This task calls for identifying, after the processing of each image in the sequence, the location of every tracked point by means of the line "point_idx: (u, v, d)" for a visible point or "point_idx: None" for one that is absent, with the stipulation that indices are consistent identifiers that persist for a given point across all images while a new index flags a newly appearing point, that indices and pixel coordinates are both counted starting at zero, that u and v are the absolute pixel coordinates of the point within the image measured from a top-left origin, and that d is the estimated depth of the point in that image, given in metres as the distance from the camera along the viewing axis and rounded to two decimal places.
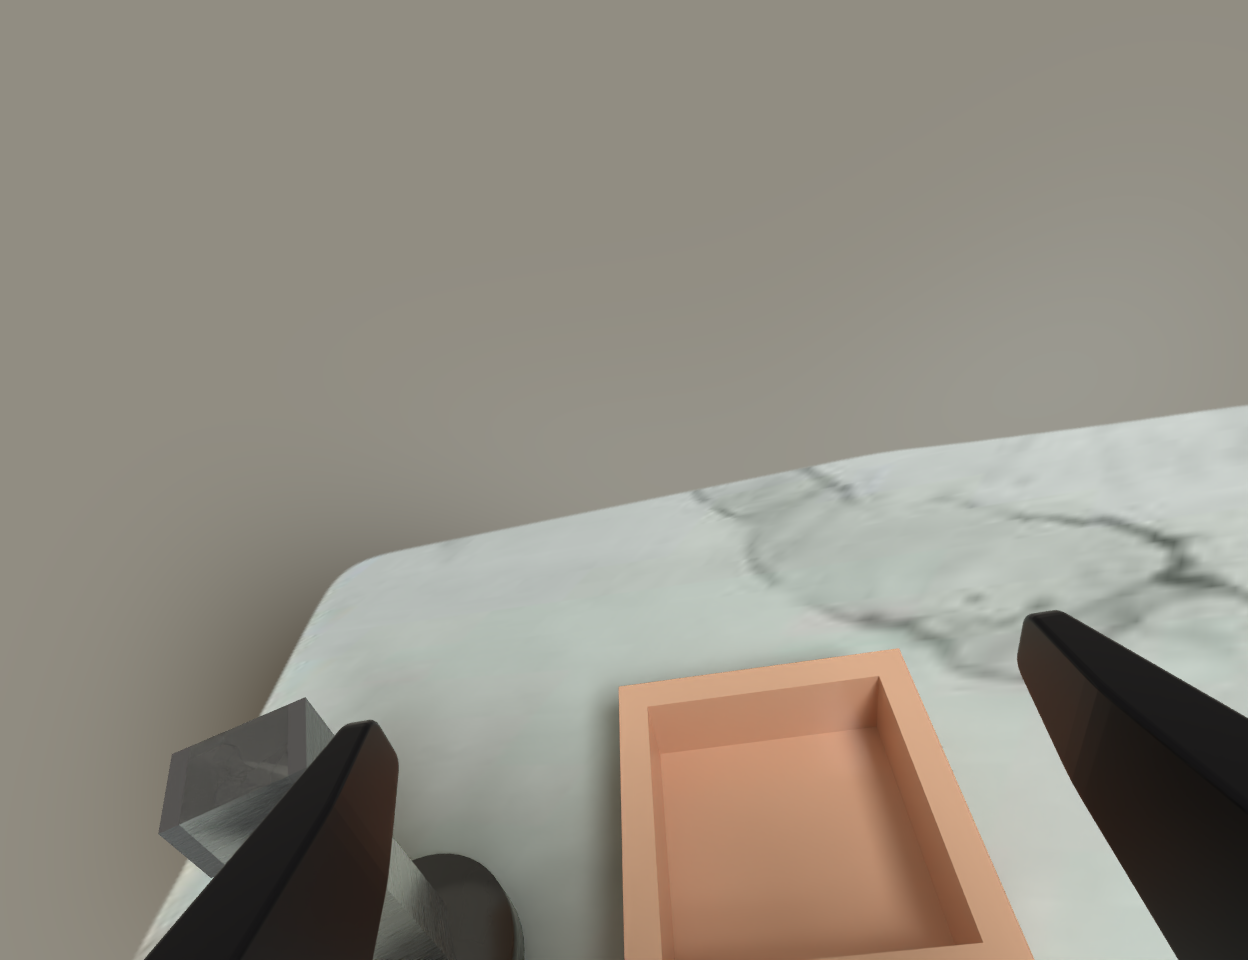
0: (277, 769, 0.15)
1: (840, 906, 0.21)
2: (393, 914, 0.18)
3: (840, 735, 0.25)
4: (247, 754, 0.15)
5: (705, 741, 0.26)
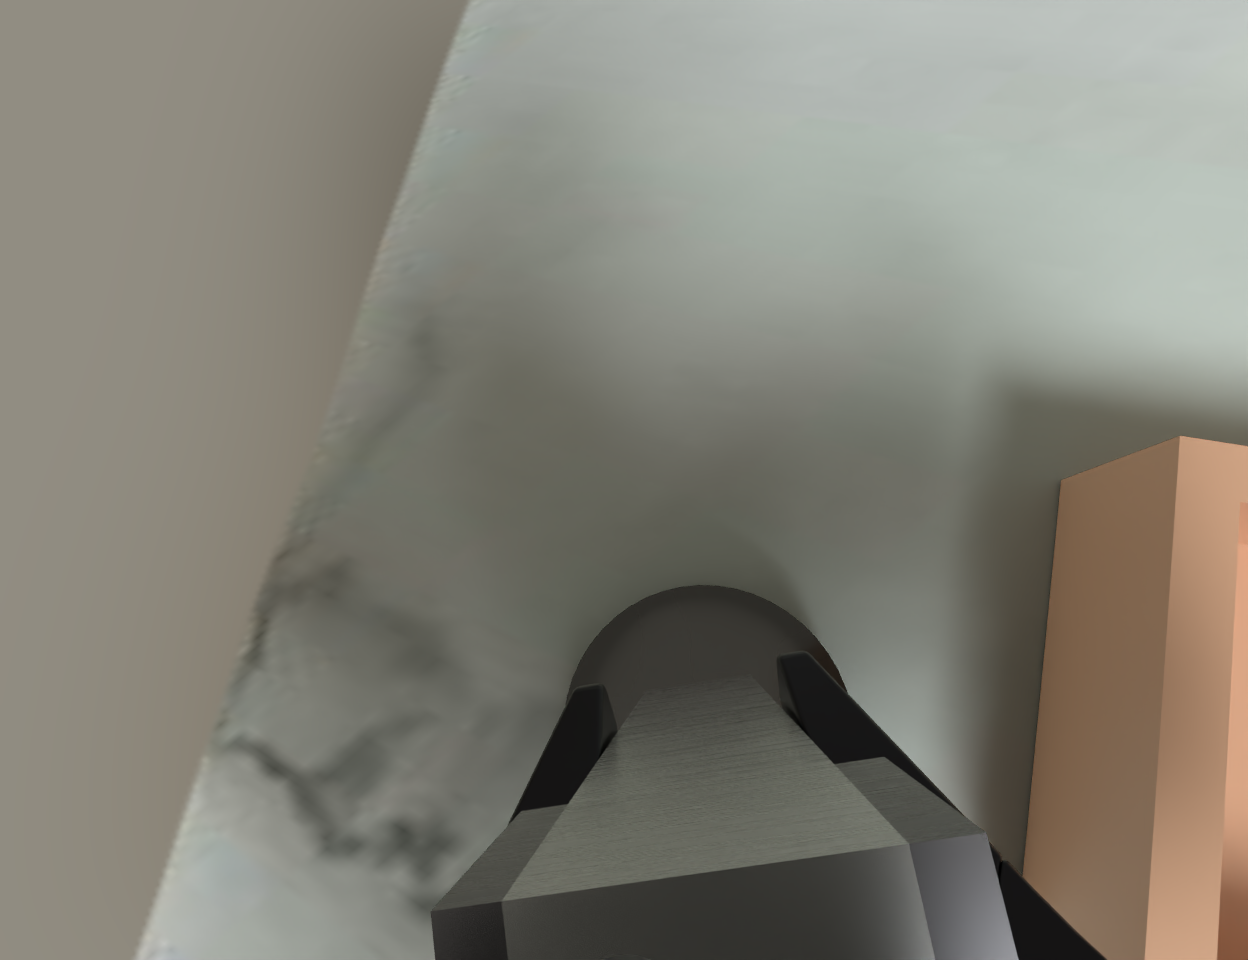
0: None
1: None
2: None
3: None
4: None
5: (1237, 538, 0.14)
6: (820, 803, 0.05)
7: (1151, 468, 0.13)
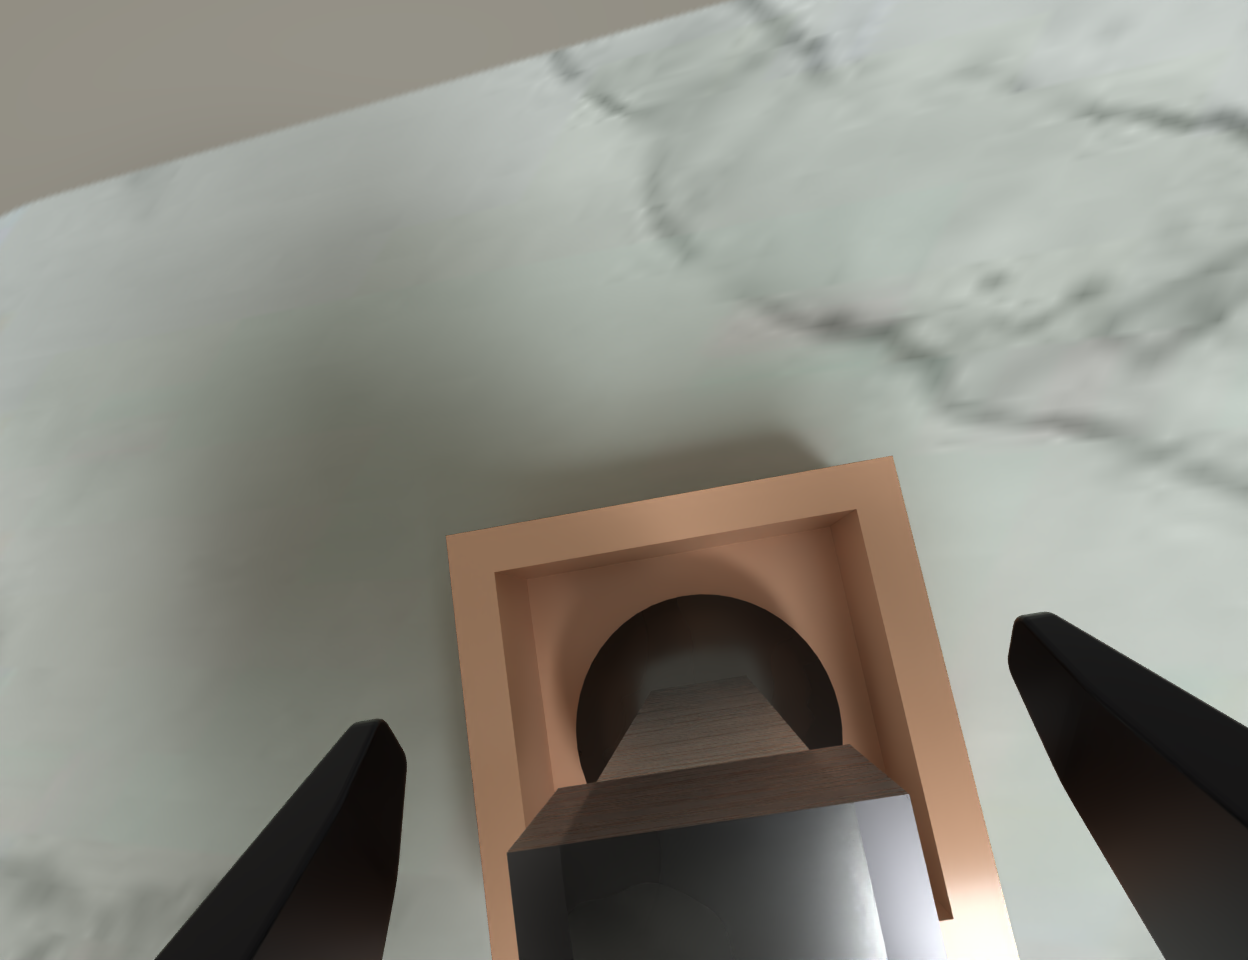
0: None
1: None
2: None
3: (779, 542, 0.18)
4: None
5: (589, 566, 0.18)
6: (794, 777, 0.06)
7: None
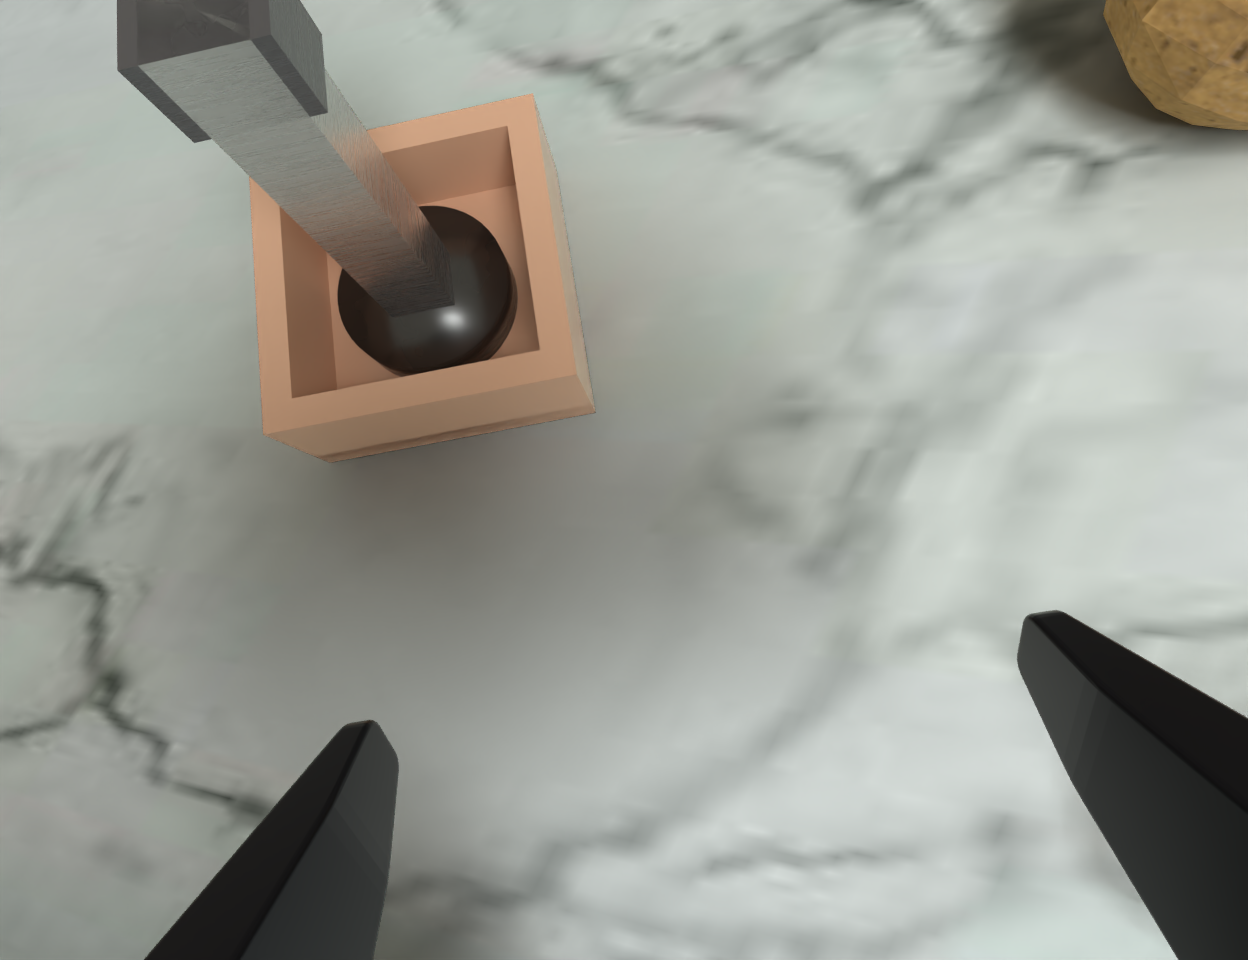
0: (238, 29, 0.13)
1: None
2: (390, 238, 0.19)
3: (494, 193, 0.26)
4: (202, 2, 0.13)
5: None
6: None
7: None
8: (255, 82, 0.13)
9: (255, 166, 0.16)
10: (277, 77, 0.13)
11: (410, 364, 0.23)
